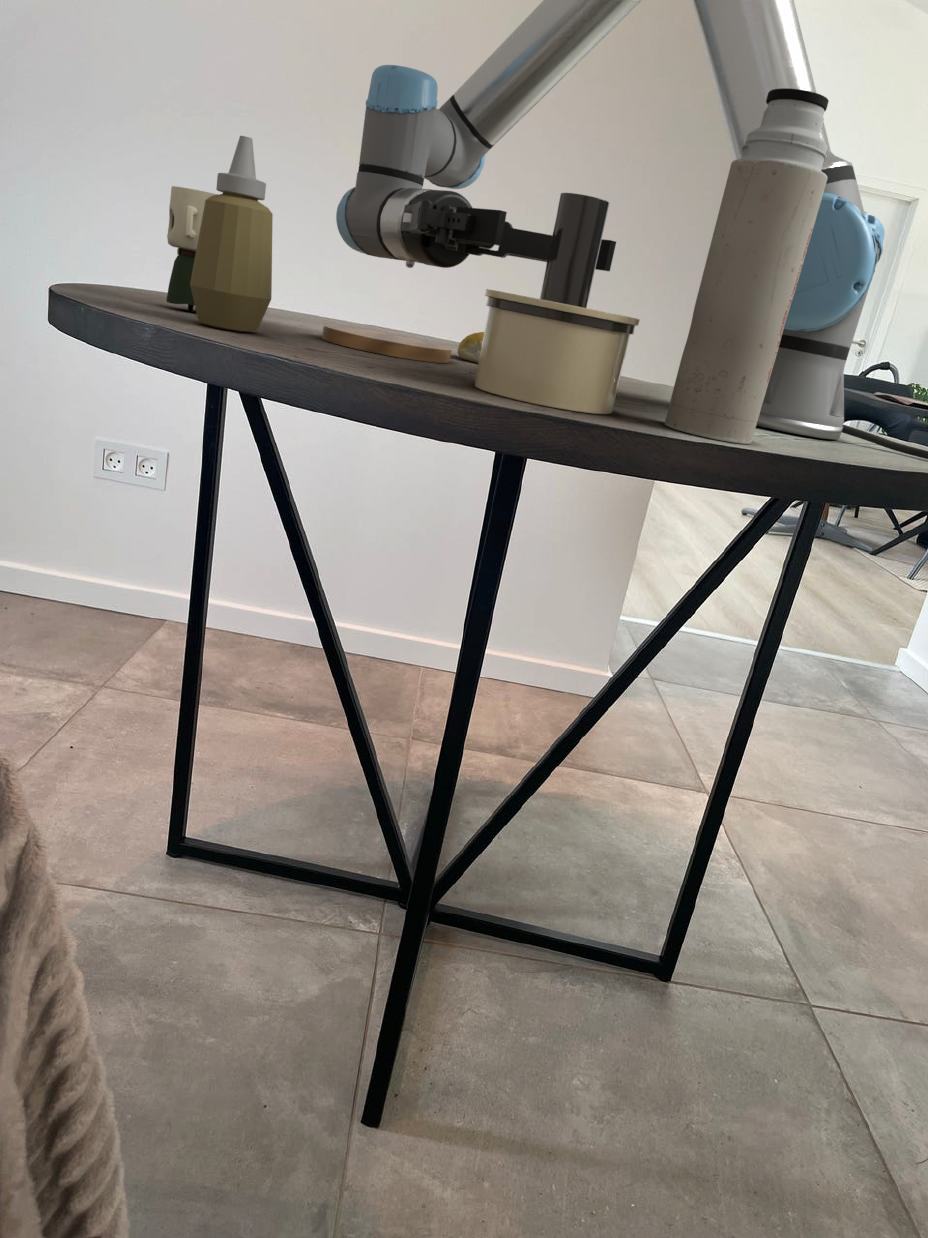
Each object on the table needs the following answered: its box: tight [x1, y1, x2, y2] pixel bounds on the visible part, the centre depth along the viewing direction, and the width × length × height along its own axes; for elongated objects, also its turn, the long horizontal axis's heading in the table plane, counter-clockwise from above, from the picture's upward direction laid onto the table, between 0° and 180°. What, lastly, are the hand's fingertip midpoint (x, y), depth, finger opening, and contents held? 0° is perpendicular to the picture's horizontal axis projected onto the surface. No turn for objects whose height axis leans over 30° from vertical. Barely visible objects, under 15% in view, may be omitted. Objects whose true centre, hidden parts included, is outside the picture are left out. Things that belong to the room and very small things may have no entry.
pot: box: [474, 296, 637, 415], centre depth 86 cm, size 14×14×8 cm
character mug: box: [165, 185, 219, 313], centre depth 107 cm, size 11×7×13 cm, turn 178°
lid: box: [484, 192, 641, 327], centre depth 83 cm, size 14×14×10 cm
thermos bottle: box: [664, 88, 830, 445], centre depth 80 cm, size 8×8×28 cm
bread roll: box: [457, 331, 484, 364], centre depth 119 cm, size 8×9×4 cm
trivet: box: [321, 324, 452, 364], centre depth 108 cm, size 15×15×2 cm
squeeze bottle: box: [190, 135, 274, 334], centre depth 93 cm, size 8×8×18 cm
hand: (558, 242), depth 85 cm, fingers open, 13 cm apart
